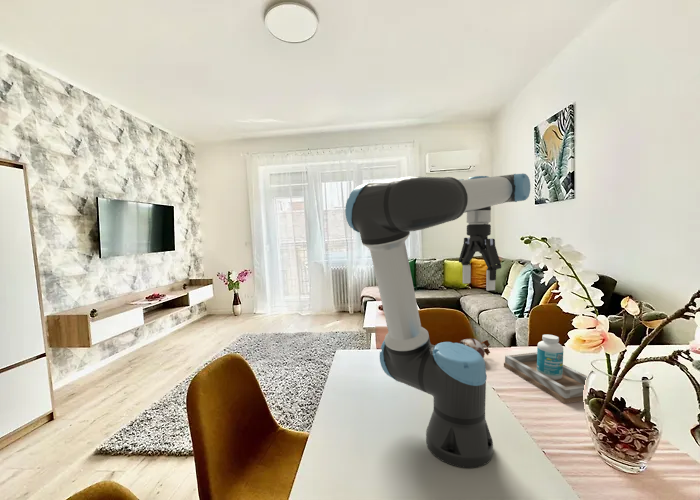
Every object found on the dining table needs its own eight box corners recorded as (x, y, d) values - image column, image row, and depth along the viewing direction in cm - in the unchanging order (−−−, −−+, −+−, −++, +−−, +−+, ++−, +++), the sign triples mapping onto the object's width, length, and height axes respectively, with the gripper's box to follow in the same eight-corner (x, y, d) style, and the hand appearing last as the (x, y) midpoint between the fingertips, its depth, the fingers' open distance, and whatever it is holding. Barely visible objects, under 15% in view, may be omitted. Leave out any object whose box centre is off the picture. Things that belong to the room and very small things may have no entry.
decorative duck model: (469, 353, 117) (439, 339, 130) (470, 373, 118) (440, 357, 131) (497, 342, 123) (466, 330, 137) (497, 360, 125) (467, 347, 138)
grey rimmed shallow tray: (605, 396, 98) (605, 384, 98) (563, 403, 95) (564, 390, 94) (538, 362, 123) (538, 352, 123) (503, 366, 120) (503, 356, 120)
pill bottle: (544, 381, 105) (545, 340, 104) (532, 371, 113) (532, 333, 112) (567, 380, 105) (568, 340, 104) (553, 370, 113) (554, 332, 112)
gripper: (514, 222, 97) (513, 292, 99) (467, 224, 121) (467, 280, 123) (492, 223, 95) (491, 294, 97) (449, 224, 120) (449, 281, 121)
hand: (477, 286), depth 110 cm, fingers open, 13 cm apart
